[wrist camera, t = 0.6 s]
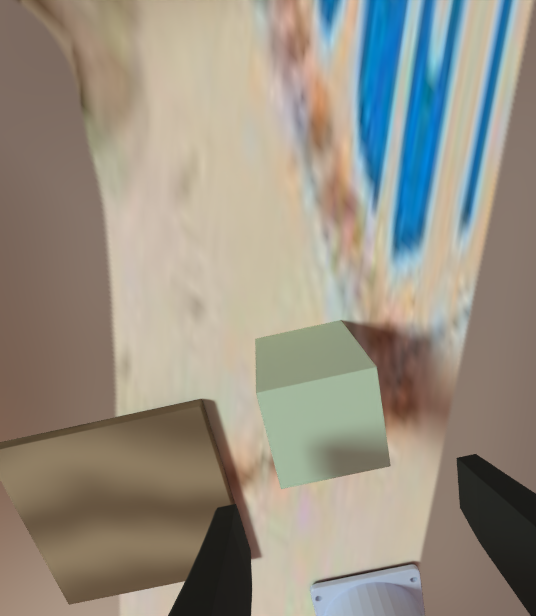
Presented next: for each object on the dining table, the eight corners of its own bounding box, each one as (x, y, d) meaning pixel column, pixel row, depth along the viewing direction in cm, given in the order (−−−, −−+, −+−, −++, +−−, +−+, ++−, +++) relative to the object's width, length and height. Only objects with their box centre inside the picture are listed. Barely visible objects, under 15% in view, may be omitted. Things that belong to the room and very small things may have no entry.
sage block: (353, 395, 21) (390, 466, 15) (273, 412, 21) (281, 489, 15) (340, 319, 20) (376, 366, 14) (255, 338, 20) (255, 393, 14)
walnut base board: (251, 556, 24) (251, 567, 24) (74, 592, 25) (68, 604, 24) (201, 398, 21) (199, 406, 20) (-6, 443, 21) (-15, 452, 20)
